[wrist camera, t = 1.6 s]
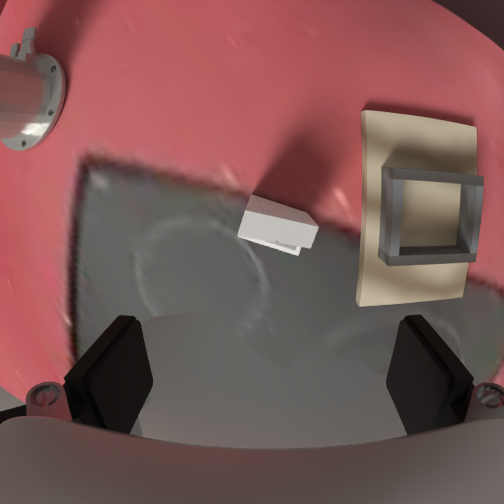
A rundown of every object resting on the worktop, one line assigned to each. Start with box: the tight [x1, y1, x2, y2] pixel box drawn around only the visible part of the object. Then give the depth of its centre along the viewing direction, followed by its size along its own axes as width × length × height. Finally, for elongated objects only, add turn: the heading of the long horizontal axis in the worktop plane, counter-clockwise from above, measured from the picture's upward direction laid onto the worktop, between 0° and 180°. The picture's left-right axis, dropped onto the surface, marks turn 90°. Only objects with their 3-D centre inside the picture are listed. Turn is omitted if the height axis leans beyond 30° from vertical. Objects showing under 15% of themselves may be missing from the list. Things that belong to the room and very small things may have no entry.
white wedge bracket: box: [237, 194, 318, 256], centre depth 27 cm, size 4×10×9 cm
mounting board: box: [356, 110, 484, 306], centre depth 27 cm, size 20×14×4 cm
